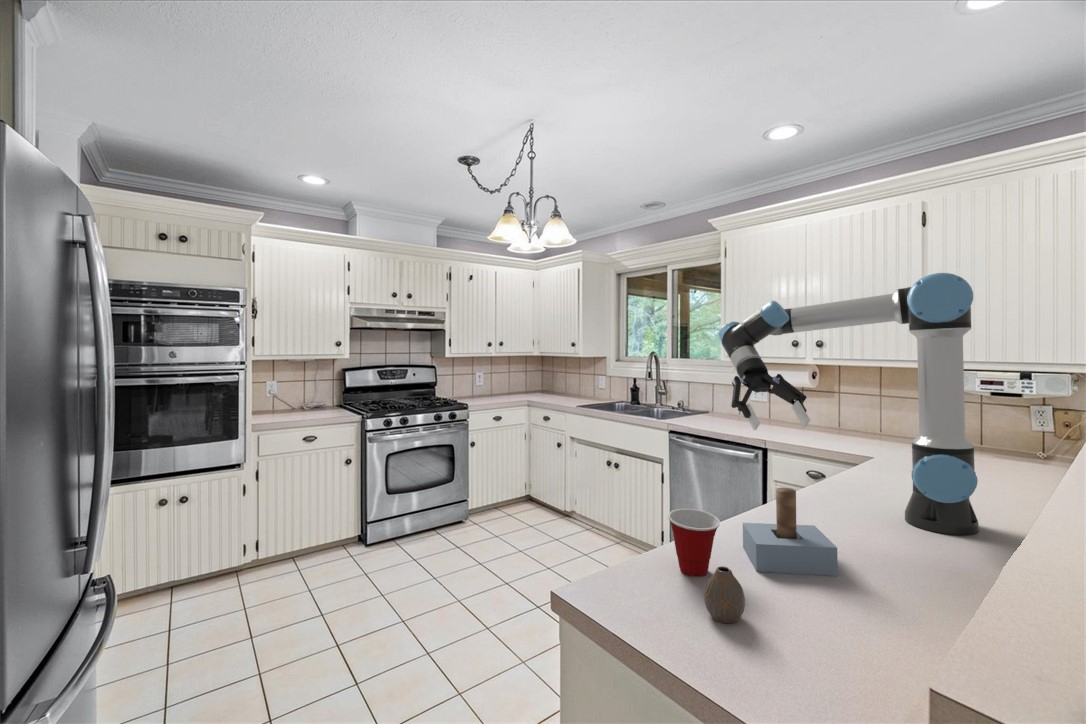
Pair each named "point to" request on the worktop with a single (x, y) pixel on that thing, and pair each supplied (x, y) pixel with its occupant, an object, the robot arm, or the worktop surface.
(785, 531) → the walnut peg
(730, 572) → the vase
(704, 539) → the plastic cup
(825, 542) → the bore block
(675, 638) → the worktop surface
